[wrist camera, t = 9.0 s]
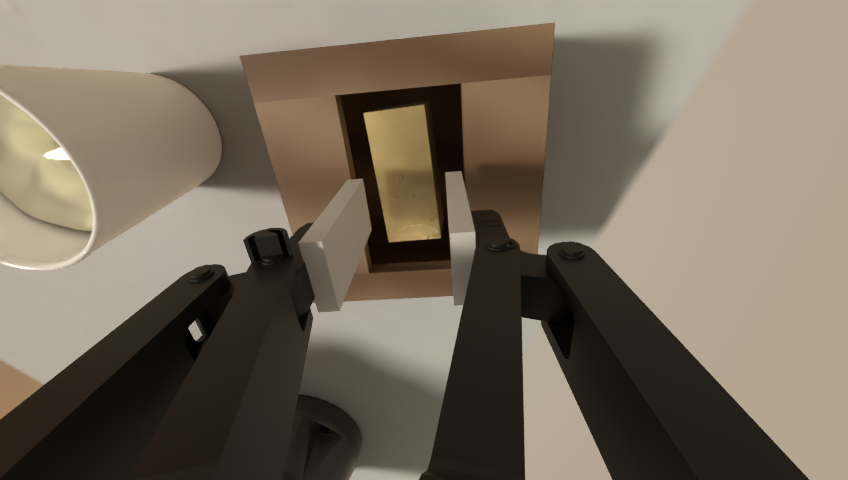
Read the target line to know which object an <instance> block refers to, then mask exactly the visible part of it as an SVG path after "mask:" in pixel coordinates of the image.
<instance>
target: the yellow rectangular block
mask: <svg viewBox="0 0 848 480" xmlns="http://www.w3.org/2000/svg"><path fill="white" fill-rule="evenodd" d="M363 114H364V119H365V124H366V129H367V134H368V139H369V144H370V149H371V154H372V159H373V165H374V170H375V175H376V180H377V185H378V190H379V195H380V200H381V205H382V210H383V215H384V220H385V225H386V230H387V235H388V240H389V242H400V241H413V240H426V239H439V238H441V235H442V228H443V221H444V215H443V206H442V198H441V190H440V181H439V173H438V164H437V156H436V147H435V139H434V130H433V122H432V113H431V105H430V101H425V102H417V103H410V104H403V105H396V106H389V107H382V108H376V109H374V110H371V111H368V112H365V113H363Z"/></svg>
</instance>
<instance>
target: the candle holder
mask: <svg viewBox="0 0 848 480" xmlns="http://www.w3.org/2000/svg"><path fill="white" fill-rule="evenodd" d="M221 154H222V143H221V137H220V133H219V130H218V127H217V125H216V122H215V120H214V118H213V117H212V115H211V113H210V112H209V110H208V109H207V108H206V106H205V105H204V104H203V103H202V101H201V100H200V99H199V98H198V97H197V96H196V95H194V94H193V93H192V92H191V91H190V90H188V89H187V88H185V87H184V86H182V85H181V84H179V83H177V82H175V81H173V80H171V79H169V78H166V77H163V76H159V75H154V74H148V73H137V72H122V71H105V70H86V69H68V68H49V67H31V66H12V65H0V263H1V264H4V265H7V266H11V267H16V268H21V269H27V270H56V269H61V268H65V267H69V266H71V265H74V264H76V263H78V262H80V261H82V260H83V259H85V258H86V257H88V256H89V255H90V254H91V253H92V252H93V251H95V250H97V249H98V248H100V247H101V246H103V245H104V244H106V243H108V242H109V241H111V240H112V239H114V238H116V237H117V236H119V235H120V234H122V233H124V232H125V231H127V230H128V229H130V228H132V227H133V226H135V225H136V224H138V223H140V222H141V221H143V220H144V219H146V218H148V217H149V216H151V215H153V214H154V213H156V212H157V211H159V210H161V209H162V208H164V207H165V206H167V205H169V204H170V203H172V202H173V201H175V200H177V199H178V198H180V197H181V196H183V195H185V194H186V193H188V192H189V191H191V190H192V189H194V188H196V187H197V186H199V185H200V184H202V183H203V182H204V181H206V180H207V179H208V178H209V177H211V176H212V174H213V173H214V172H215V171H216V169H217V167H218V165H219V163H220V159H221Z"/></svg>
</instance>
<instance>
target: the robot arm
mask: <svg viewBox="0 0 848 480" xmlns="http://www.w3.org/2000/svg"><path fill="white" fill-rule="evenodd" d="M445 177H446V193H447V210H448V226H449V240H450V253H451V267H452V281H453V295H454V305H463V310H462V314H461V319H460V324H459V329H458V333H457V338H456V343H455V348H454V352H453V357H452V362H451V366H450V371H449V376H448V381H447V385H446V390H445V395H444V400H443V404H442V409H441V414H440V418H439V423H438V428H437V433H436V437H435V442H434V447H433V452H432V456H431V460H430V464H429V467H428V469H427V471H426V472H424V473H422V474H421V477H420V479H419V480H525V461H524V460H525V457H524V413H523V364H522V318H521V317H524V318H530V319H536V320H541V325H542V327H543V330H544V332H545V334H546V336H547V338H548V341H549V343H550V345H551V347H552V349H553V351H554V353H555V356H556V358H557V360H558V362H559V364H560V366H561V369H562V371H563V373H564V375H565V377H566V380H567V382H568V384H569V386H570V388H571V390H572V393H573V395H574V397H575V399H576V401H577V403H578V405H579V408H580V410H581V412H582V414H583V416H584V419H585V421H586V423H587V425H588V427H589V430H590V432H591V434H592V435H593V438H594V440H595V442H596V445H597V447H598V449H599V451H600V453H601V456H602V458H603V460H604V462H605V464H606V466H607V469H608V471H609V473H610V475H611V477H612V479H613V480H809V479H808V478H807V477H806V476H805V475H804V474H803V473H802V471H801V470H800V469H798V467H797V466H796V465H795V464H794V463H793V462H792V461H791V460H790V459H789V458H788V457H787V455H786V454H785V453H784V452H783V451H782V450H781V449H780V448H779V447H778V446H777V445H776V444H775V443H774V442H773V440H771V438H770V437H769V436H768V435H767V434H766V433H765V432H764V431H763V430H762V429H761V428H760V427H759V426H758V424H757V423H756V422H755V421H754V420H753V419H752V418H751V417H750V416H749V415H748V414H747V413H746V412H745V411H744V410H743V408H742V407H740V405H739V404H738V403H737V402H736V401H735V400H734V399H733V398H732V397H731V396H730V395H729V394H728V392H727V391H726V390H725V389H724V388H723V387H722V386H721V385H720V384H719V383H718V382H717V381H716V380H715V379H714V378H713V376H712V375H711V374H710V373H709V372H708V371H707V370H706V369H705V368H704V367H703V366H702V365H701V364H700V363H699V361H698V360H697V359H696V358H695V357H694V356H693V355H692V354H691V353H690V352H689V351H688V350H687V349H686V348H685V347H684V345H683V344H682V343H681V342H680V341H679V340H678V339H677V338H676V337H675V336H674V335H673V334H672V333H671V332H670V331H669V330H668V328H666V326H665V325H664V324H663V323H662V322H661V321H660V320H659V319H658V318H657V317H656V316H655V315H654V313H653V312H652V311H651V310H650V309H649V308H648V307H647V306H646V305H645V304H644V303H643V302H642V301H641V300H640V299H639V298H638V296H637V295H636V294H635V293H634V292H633V291H632V290H631V289H630V288H629V287H628V286H627V285H626V284H625V283H624V281H623V280H622V279H621V278H620V277H619V276H618V275H617V274H616V273H615V272H614V271H613V270H612V269H611V268H610V266H608V264H607V263H606V262H605V261H604V260H603V259H602V258H601V257H600V256H599V255H598V254H597V253H596V252H595V251H594V250H593V249H592V248H590V247H588V246H586V245H583V244H581V243H577V242H576V243H575V242H561V243H555V244H553V245H551V246H549V248H548V249H547V255H539V254H532V253H527V252H524V251H521V250H520V245H519V243H518V242H517V241H515V240H514V239H512V238H510V237H509V235H508V233H507V230H506V228H505V226H504V223H503V221H502V218H501V216H500V214H499V213H497V212H496V211H494V210H493V209H491V210H476V211H470V207H469V202H468V198H467V194H466V189H465V185H464V181H463V176H462V172H461V171H455V172H445ZM371 230H372V228H371V222H370V217H369V211H368V205H367V199H366V194H365V188H364V182H363V179H351V180H347V181H346V182H345V184H344V185H343V186H342V187H341V189H340V190H339V191H338V193H337V194H336V195H335V196H334V198H333V199H332V200H331V202H330V203H329V204H328V205H327V207H326V208H325V209H324V211H323V212H322V213H321V214H320V216H319V217H318V218H317V219H316V221H315V222H314V223H307V224H305V225H303V226H302V227H300V228H298V230H297V231H296V232H295V233H294V234H293V236H292V237H291V238H290V239H289V237H288V233H287V231H286V230H285V229H283V228H269V229H265V230H261V231H258V232H255V233H253V234H251V235H249V236H247V237H246V238H245V239H244V240H243V241H244V244H245V247H246V249H247V252H248V255H249V257H250V260H251V265H250V267H249V268H248V270H247V272H245V273H240V274H236V275H231V276H228V274H227V272H226V269H225V267H224V266H222V265H216V264H214V265H204V266H202V267H201V266H200V267H197V268H195V269H194V270H192V271H190V272H188V273H186V274H185V275H183V276H182V277H180V278H179V279H178V280H177V281H175V282H174V283H173V284H172V285H170V286H169V287H168V288H167V289H165V290H164V291H163V292H161V293H160V294H159V295H158V296H156V297H155V298H154V299H153V300H151V301H150V302H149V303H148V304H146V305H145V306H144V307H142V308H141V309H140V310H139V311H137V312H136V313H135V314H134V315H132V316H131V317H130V318H128V319H127V320H126V321H125V322H123V323H122V324H121V325H120V326H118V327H117V328H116V329H115V330H113V331H112V332H111V333H109V334H108V335H107V336H106V337H104V338H103V339H102V340H101V341H99V342H98V343H97V344H96V345H94V346H93V347H92V348H90V349H89V350H88V351H87V352H85V353H84V354H83V355H82V356H80V357H79V358H78V359H77V360H75V361H74V362H73V363H71V364H70V365H69V366H68V367H66V368H65V369H64V370H63V371H61V372H60V373H59V374H58V375H56V376H55V377H54V378H52V379H51V380H50V381H49V382H47V383H46V384H45V385H44V386H42V387H41V388H40V389H39V390H37V391H36V392H35V393H34V394H32V395H31V396H30V397H28V398H27V399H26V400H25V401H23V402H22V403H21V404H20V405H18V406H17V407H16V408H14V409H13V410H12V411H11V412H9V413H8V414H7V415H6V416H4V417H3V418H2V419H1V420H0V480H349V478H350V476H351V475H352V473H353V471H354V469H355V467H356V464H357V461H358V457H359V452H360V447H361V434H360V431H359V429H358V427H357V425H356V424H355V423H354V421H353V420H352V419H351V418H350V417H349V416H348V415H347V414H345V413H344V412H343V411H341V410H340V409H338V408H337V407H335V406H333V405H331V404H329V403H326V402H324V401H321V400H318V399H315V398H311V397H306V396H300V395H298V394H299V389H300V384H301V379H302V373H303V368H304V363H305V358H306V353H307V347H308V342H309V337H310V332H311V327H312V321H313V317H312V313H311V309H310V306H311V304H312V302H313V300H314V299H315V303H316V306H317V310H318V312H330V311H340V308H341V306H342V303H343V301H344V298H345V296H346V293H347V291H348V288H349V286H350V283H351V281H352V278H353V276H354V273H355V271H356V268H357V265H358V263H359V260H360V258H361V255H362V253H363V250H364V248H365V245H366V243H367V240H368V238H369V235H370V233H371ZM194 321H196V323H197V325H198V327H199V329H200V331H201V333H202V336H201V337H200V338H199V339H198V340H197V341H195V340H194V339H193V337H192V335H191V333H190V331H189V329H188V327H189V326H190V325H191V324H192V323H193V322H194Z"/></svg>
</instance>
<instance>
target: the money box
mask: <svg viewBox="0 0 848 480" xmlns="http://www.w3.org/2000/svg"><path fill="white" fill-rule="evenodd" d="M554 29H555V23H547V24H538V25H528V26H519V27H509V28H500V29H490V30H481V31H471V32H462V33H452V34H443V35H433V36H424V37H414V38H405V39H395V40H386V41H376V42H367V43H358V44H348V45H339V46H329V47H320V48H310V49H301V50H291V51H282V52H272V53H263V54H253V55H244V56H240V59H241V62H242V65H243V69H244V72H245V76H246V79H247V82H248V86H249V89H250V92H251V96H252V99H253V103H254V106H255V109H256V113H257V116H258V119H259V123H260V126H261V130H262V133H263V136H264V140H265V143H266V146H267V150H268V153H269V157H270V160H271V163H272V167H273V170H274V173H275V177H276V180H277V184H278V187H279V190H280V194H281V197H282V200H283V204H284V207H285V211H286V214H287V217H288V221H289V224H290V227H291V231H292V234H294V233H295V232H296V231H297V230H298V228H300V227H302V226H303V225H305V224H307V223H314V222H315V221H316V219H317V218H318V217H319V216H320V214H321V213H322V212H323V211H324V209H325V208H326V207H327V205H328V204H329V203H330V202H331V200H332V199H333V198H334V196H335V195H336V194H337V193H338V191H339V190H340V189H341V187H342V186H343V185H344V184H345V182H346V181H347V180H351V179H363V182H364V188H365V194H366V199H367V205H368V211H369V217H370V222H371V228H372V230H371V233H370V235H369V238H368V240H367V243H366V245H365V248H364V250H363V253H362V255H361V258H360V260H359V263H358V265H357V268H356V271H355V273H354V276H353V278H352V281H351V283H350V286H349V288H348V291H347V293H346V296H345V298H344V301H361V300H381V299H401V298H420V297H440V296H454V295H453V281H452V267H451V253H450V240H449V226H448V210H447V193H446V177H445V172H455V171H461V172H462V176H463V181H464V185H465V189H466V194H467V198H468V202H469V207H470V211H476V210H491V209H493V210H494V211H496V212H497V213H499V214H500V216H501V218H502V221H503V223H504V226H505V228H506V230H507V233H508V235H509V237H510V238H512V239H514V240H515V241H517V242H518V243H519V245H520V250H521V251H524V252H527V253H532V254H538V242H539V229H540V215H541V202H542V189H543V175H544V162H545V149H546V136H547V122H548V109H549V96H550V82H551V69H552V56H553V42H554ZM425 101H430V105H431V113H432V122H433V130H434V139H435V147H436V156H437V164H438V173H439V181H440V190H441V198H442V206H443V215H444V221H443V228H442V235H441V238H439V239H426V240H413V241H400V242H389V240H388V235H387V230H386V225H385V220H384V215H383V210H382V205H381V200H380V195H379V190H378V185H377V180H376V175H375V170H374V165H373V159H372V154H371V149H370V144H369V139H368V134H367V129H366V124H365V119H364V114H363V113H365V112H368V111H371V110H374V109H376V108H382V107H389V106H396V105H403V104H410V103H417V102H425ZM313 303H315V299H314V300H313Z"/></svg>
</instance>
